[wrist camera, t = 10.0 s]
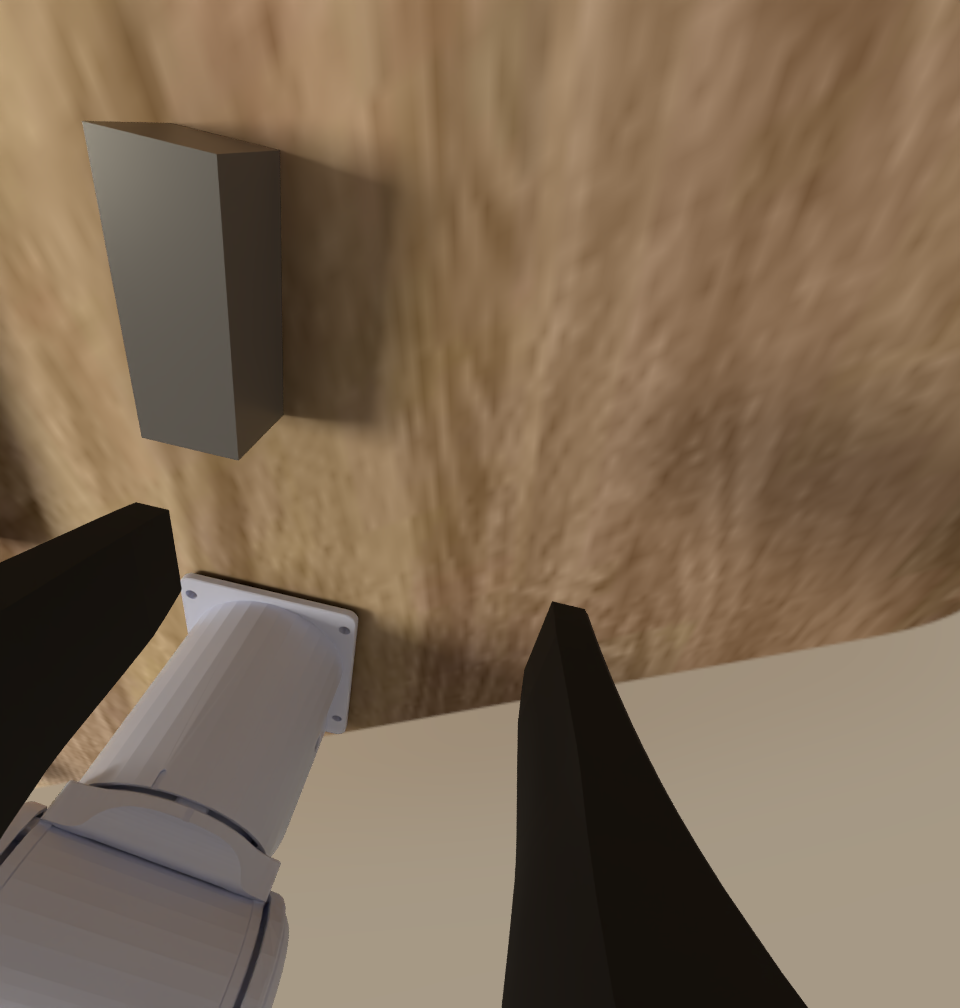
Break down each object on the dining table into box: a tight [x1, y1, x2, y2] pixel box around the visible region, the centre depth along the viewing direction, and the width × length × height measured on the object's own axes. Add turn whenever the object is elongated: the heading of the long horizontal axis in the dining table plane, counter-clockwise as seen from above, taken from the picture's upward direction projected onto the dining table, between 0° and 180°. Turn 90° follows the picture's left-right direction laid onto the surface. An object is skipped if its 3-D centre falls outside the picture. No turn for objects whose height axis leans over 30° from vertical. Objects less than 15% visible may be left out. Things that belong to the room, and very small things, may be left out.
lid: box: [82, 121, 283, 460], centre depth 16 cm, size 15×15×4 cm
